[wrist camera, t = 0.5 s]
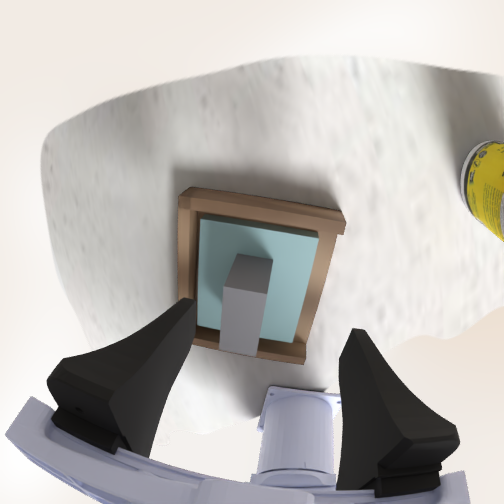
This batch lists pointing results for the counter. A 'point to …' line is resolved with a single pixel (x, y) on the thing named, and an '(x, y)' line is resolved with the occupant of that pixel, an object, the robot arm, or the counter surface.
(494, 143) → the pill bottle
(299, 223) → the walnut box
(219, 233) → the cover plate
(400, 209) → the counter surface
